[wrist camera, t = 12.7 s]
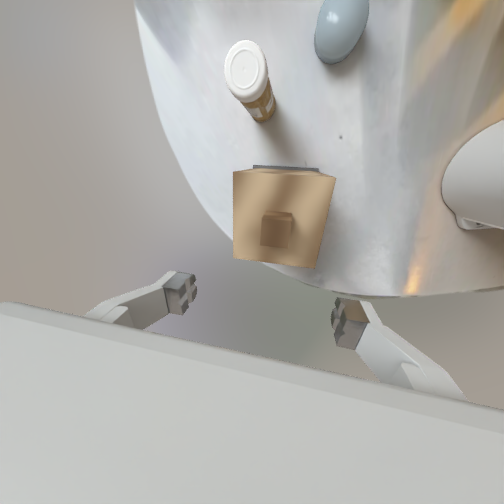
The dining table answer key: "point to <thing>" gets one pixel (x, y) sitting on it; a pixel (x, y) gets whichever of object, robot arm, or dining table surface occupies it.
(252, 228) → the oak cover
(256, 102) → the sprinkles bottle
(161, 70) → the dining table surface
